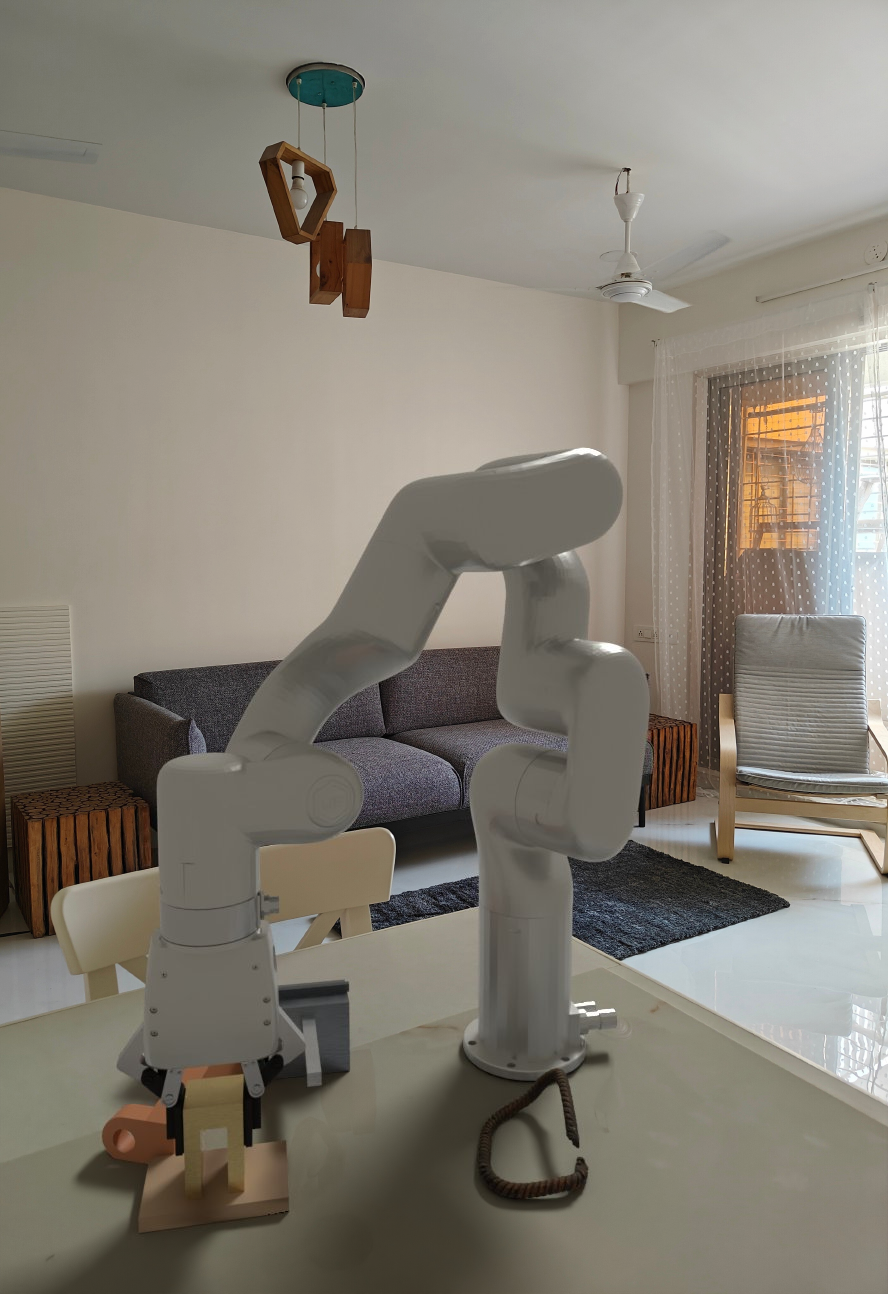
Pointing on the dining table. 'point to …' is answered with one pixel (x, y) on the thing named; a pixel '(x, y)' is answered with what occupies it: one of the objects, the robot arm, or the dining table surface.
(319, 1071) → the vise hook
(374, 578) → the robot arm
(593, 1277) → the dining table surface
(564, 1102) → the brown twisted loop
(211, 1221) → the board
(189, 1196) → the yellow arch block
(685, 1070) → the dining table surface
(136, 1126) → the crank
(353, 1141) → the dining table surface
